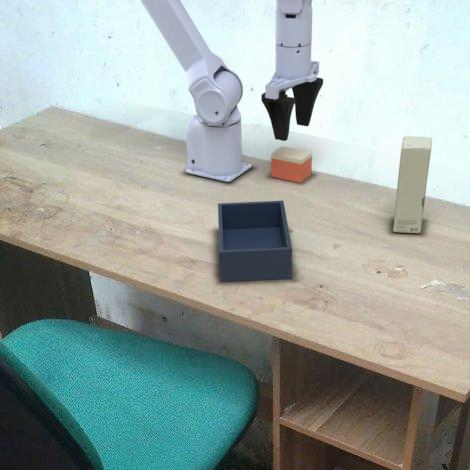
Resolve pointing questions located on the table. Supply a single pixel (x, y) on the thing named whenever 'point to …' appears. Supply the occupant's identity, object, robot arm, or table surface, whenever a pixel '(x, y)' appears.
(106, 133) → the table surface
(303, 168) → the box
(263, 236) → the navy blue open bin
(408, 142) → the box
